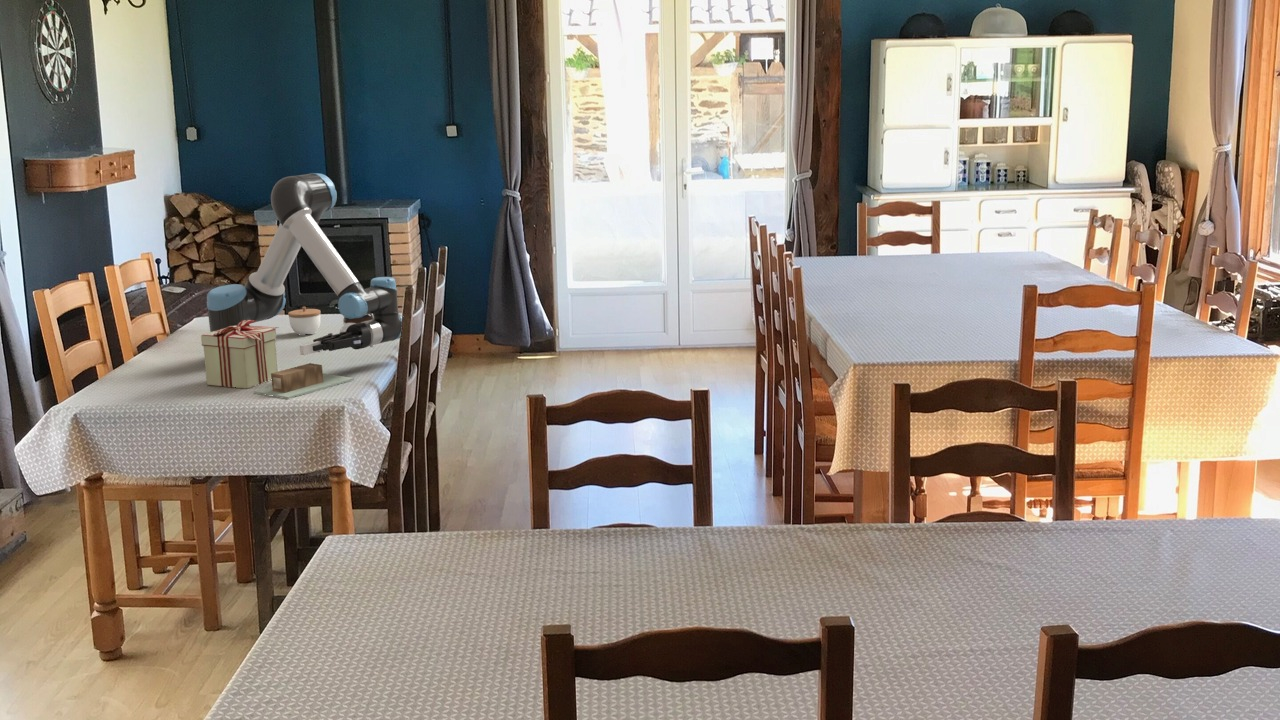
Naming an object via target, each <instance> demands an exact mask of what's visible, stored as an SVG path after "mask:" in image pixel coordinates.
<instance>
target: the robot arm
mask: <svg viewBox="0 0 1280 720" xmlns="http://www.w3.org/2000/svg"><path fill="white" fill-rule="evenodd" d="M337 193H338V192H337V190H336V187H335V183H334V182H333V181H332V179H331V178H330V177H328V176H327V175H326V174H324V173H319V172H318V173H317V172H316V173H314V172H310V173H307V174H300V175H290V176H285V177H282V178H281V179H279V180H278V181H277V182H276V183H275V185H274V186H273V187H272V190H271V194H270V203H271V207H272V209H273V213H274V215H275V217H276V219H277V220H278V221H279V225H278V227H277V229H276V232H275V234H273V235H274V236H273V237H272V240H271V241H270V244H269V246H268V248H267V250H266V252H265V254H264V257H262V261H261V262H260V265H259V267H258V268H257V271H255V272H251V274H250V275H249V276H248V278H247V280H246V283H245V285H243V284H240V283H239V284H237V283H233V284H227V285H221V286H220V285H219V286H218V287H214V288H213V289H211V290H209V291H208V293H206V307H207V308H206V309H207V316H208V324H209V325H208V326H209V333H210V332H213V331H217V330H220V329H224V328H227V327H229V326H237V324H239V323H240V322H241V321H243V320H254V321H256V322H254V323H258V322H261V321H266V320H269V319H272V318H274V317H277V316H278V315H279V314H280V313H281V312H282V311H283V310H284V308H285V305H286V303H287V301H286V299H287V298H286V297H285V296H286V292H285V290H286V288H285V285H284V282H285V280H286V278H287V276H288V274H289V272H290V270H291V267H292V265H293V263H294V262H295V260H296V258H297V256H298V253H299V251H300V250H301V248H303V251H304V252H305V253H306V254H307V256H308V258H309V259H310V261H312V263H313V264H314V266H315V267H316V268H317V270H318V271H319V272H320V274H321V276H322V277H323V278H324V279H325V281H326V282H327V284H328V285H329V286H330V288H331V289H332V291H333V292H334V293H335V294H336V296H337V297H338V299H339V300H338V303H337V306H338V311H339V313H340V315H342V316H343V318H344V317H346V318H349V319H354V318H360V317H363V316H365V315H368V314H372V315H373V318H374V319H373V320H369V321H364V322H361V323H357V324H353V325H350V326H349V327H348V328H347V330H346V332H340V331H339V332H340V333H336V334H334V333H331V332H330V333H328V334H327V335H323V336H321V337H318V338H315V339H312V340H313V341H311V342H308V343H305V344H301V345H299V352H300V353H299V354H300V356H306V355H307V356H308V355H310V354H315V353H321V352H322V351H324V352H326V351H329V352H332V351H336V350H337V351H338V350H342V349H347V348H352V349H353V350H361V349H365V348H367V347H370V348H374V346H376V345H379V344H382V343H383V344H384V343H387V342H393V341H396V340H399V339H401V338H400V336H401V327H402V316H403V315H402V314H399V307H398V306H399V303H398V301H399V300H398V289H397V283H396V278H394V277H391V276H378V277H373V278H371V280H370V286H369V287H366V288H364V287H363V285H362V284H361V283H360V281H359V280H358V278H357V277H356V275H355V274H354V273H353V272H352V270H351V269H350V267H349V266H348V264H347V263H346V261H345V260H344V259H343V258H342V256H341V255H340V254H339V252H338V250H337V249H336V248H335V247H334V244H332V242H331V241H330V240H329V238H328V237H327V235H326V234H325V232H324V231H323V230H322V229H321V227H320V226H319V222H320V221H321V219H322V217H323V214H324V213H325V212H327V211H331V209H333V208H334V206H336V203H337V198H338V196H337V195H338V194H337ZM250 324H252V323H250ZM250 324H249V325H250Z"/></svg>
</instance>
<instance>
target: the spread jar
mask: <svg viewBox="0 0 1280 720" xmlns="http://www.w3.org/2000/svg"><path fill="white" fill-rule="evenodd" d="M373 319H374V317H373V313H371V314H368V315H365V316H363V317H360V318H354V319H349V318H346V317H344V316H343V319H342V320H343V322H342V324H343V325H342V326H341V328H340V330H339V333H340V332H346V330H347V328H348V327H349V326H350V325H353V324H357V323H361V322H364V321H369V320H373ZM339 333H338V334H339Z"/></svg>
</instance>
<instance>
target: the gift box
mask: <svg viewBox="0 0 1280 720" xmlns="http://www.w3.org/2000/svg"><path fill="white" fill-rule="evenodd" d="M254 322H255V323H257V322H256V321H254V320H243V321H241V322H240V323H239V324H237V326H229V327H227V328H224V329H220V330H217V331H213V332H210V331H209V332H206V333H202V334H201V335H200V339H201V340H200V341H201V342H200V343H201V346H203V355H204V366H205V367H204V368H205V377H206V378H205V379H206V385H207V386H208V385H209V386H215V387H223V388H224V387H225V388H235V387H236V388H237V389H246V388H247V389H250V387H251V388H254V387H255V385H256V386H259V385H261V383H262V384H264V383H263V382H265V381H267V382H269V381H268V380H270V381H272V380H271V373H275V372H278V361H277V360H278V359H277V346H276V345H277V344H276V340H277V330H276V329H279V328H280V327H278V326H276V327H273V326H264V325H263V326H262V325H260V326H259V325H258V326H257V325H256V326H255V325H250V323H251V324H253V323H254ZM265 383H266V382H265ZM258 384H259V385H258ZM253 386H254V387H253ZM236 388H235V389H236Z"/></svg>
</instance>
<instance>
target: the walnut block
mask: <svg viewBox="0 0 1280 720" xmlns="http://www.w3.org/2000/svg"><path fill="white" fill-rule="evenodd" d="M323 372H324V371H323V365H322V364H318V363H311V362H310V363H306V364H301V365H298V366H294V367H290V368H287V369H283V370H279V371H278V372H275V373H271V379H272V380H271V386H272V389H273V391H276V392H282V393H287V392H290V391H294V390H297V389H301V388H304V387H308V386H311V385H315V384H318V383H322V382H323V374H324V373H323Z"/></svg>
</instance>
